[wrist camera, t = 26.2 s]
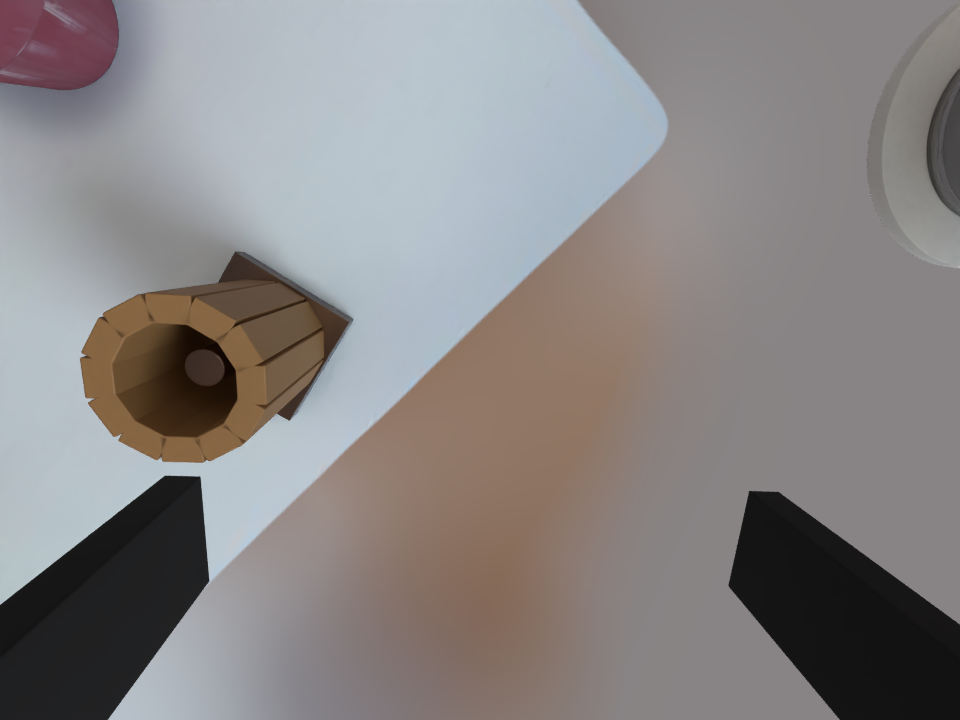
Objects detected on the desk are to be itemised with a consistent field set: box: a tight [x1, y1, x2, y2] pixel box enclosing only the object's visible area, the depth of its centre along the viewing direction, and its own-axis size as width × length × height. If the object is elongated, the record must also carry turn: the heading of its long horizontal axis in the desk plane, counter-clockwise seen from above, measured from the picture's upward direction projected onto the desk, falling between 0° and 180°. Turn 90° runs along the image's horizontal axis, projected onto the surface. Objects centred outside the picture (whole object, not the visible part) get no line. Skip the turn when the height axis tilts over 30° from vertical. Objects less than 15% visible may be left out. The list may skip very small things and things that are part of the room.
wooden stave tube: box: [80, 279, 324, 463], centre depth 31 cm, size 10×10×12 cm
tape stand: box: [185, 252, 353, 421], centre depth 33 cm, size 10×10×10 cm
